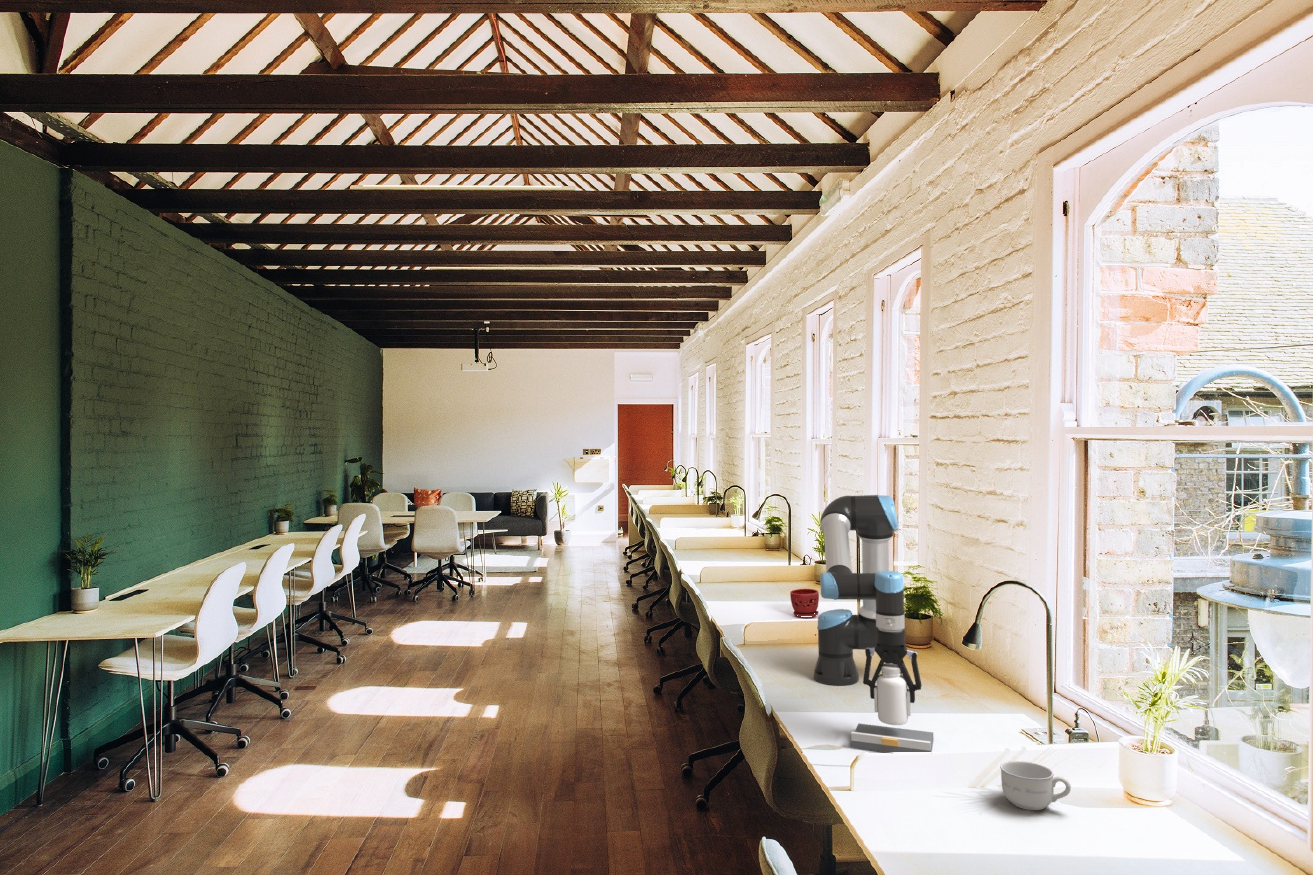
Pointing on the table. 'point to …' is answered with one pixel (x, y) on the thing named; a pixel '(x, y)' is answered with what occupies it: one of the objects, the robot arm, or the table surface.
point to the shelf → (891, 739)
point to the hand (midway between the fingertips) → (892, 712)
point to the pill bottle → (892, 695)
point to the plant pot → (805, 602)
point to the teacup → (1030, 784)
